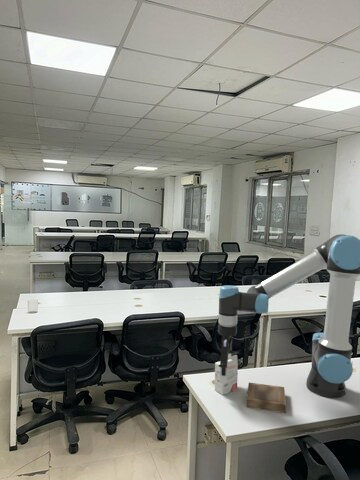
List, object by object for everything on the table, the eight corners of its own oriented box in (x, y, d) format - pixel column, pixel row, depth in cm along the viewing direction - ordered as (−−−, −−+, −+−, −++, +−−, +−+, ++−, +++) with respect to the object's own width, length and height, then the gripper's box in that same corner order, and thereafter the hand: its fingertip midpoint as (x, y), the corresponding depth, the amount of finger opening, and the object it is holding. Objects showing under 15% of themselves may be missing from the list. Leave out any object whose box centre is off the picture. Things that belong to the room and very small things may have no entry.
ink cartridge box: (229, 384, 148) (230, 350, 147) (237, 389, 144) (238, 354, 143) (213, 390, 143) (214, 355, 142) (222, 395, 139) (223, 359, 138)
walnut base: (284, 394, 140) (284, 386, 140) (285, 412, 127) (285, 404, 127) (248, 389, 144) (248, 382, 144) (246, 407, 130) (246, 399, 130)
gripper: (222, 315, 154) (220, 362, 156) (213, 332, 130) (211, 388, 132) (239, 316, 153) (237, 364, 154) (233, 335, 128) (231, 391, 130)
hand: (225, 375), depth 143 cm, fingers open, 13 cm apart
